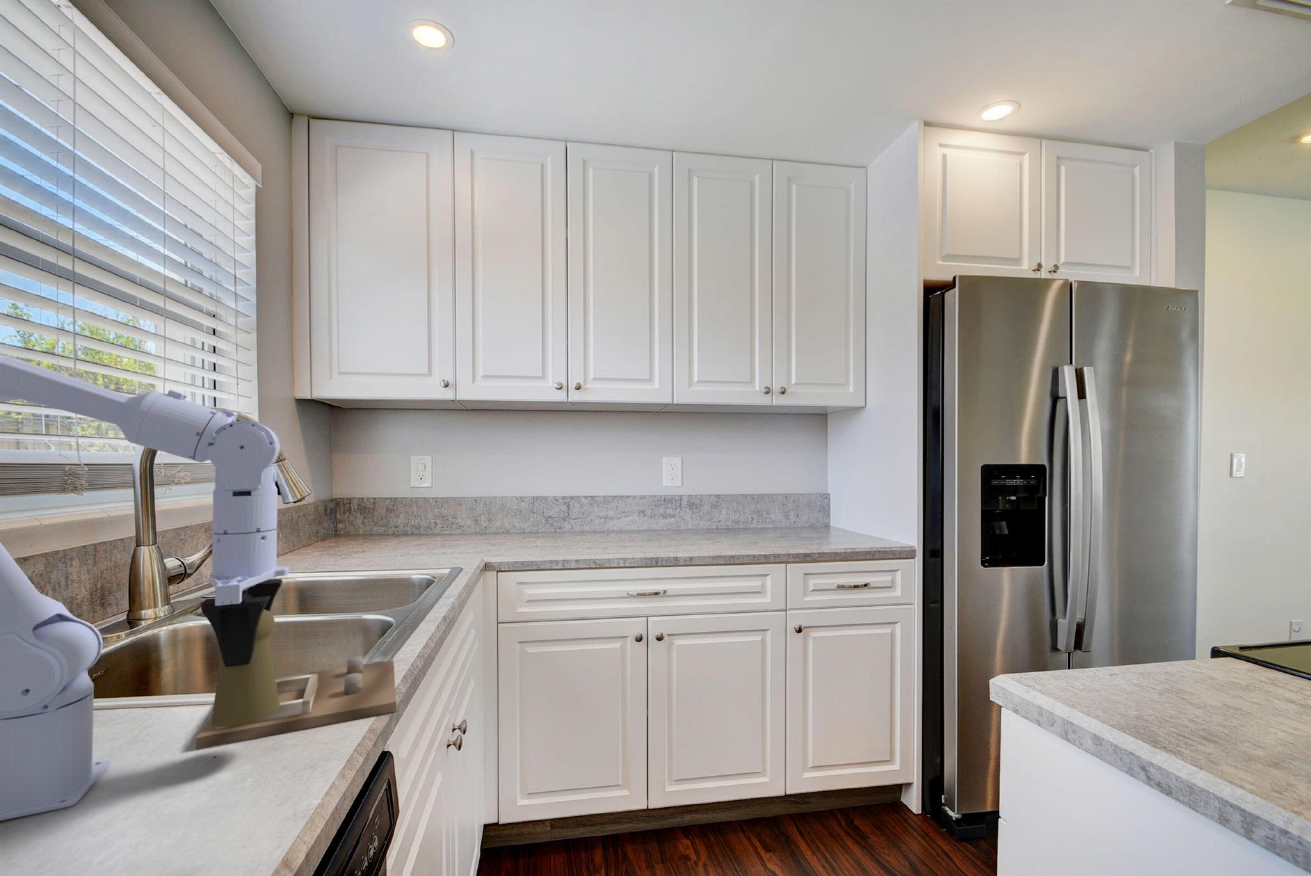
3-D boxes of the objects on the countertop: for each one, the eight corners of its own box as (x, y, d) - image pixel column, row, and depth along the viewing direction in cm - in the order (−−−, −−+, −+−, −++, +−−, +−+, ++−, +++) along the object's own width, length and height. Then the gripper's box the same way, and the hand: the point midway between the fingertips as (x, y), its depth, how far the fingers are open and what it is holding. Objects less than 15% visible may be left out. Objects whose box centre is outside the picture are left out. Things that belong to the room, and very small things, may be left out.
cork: (199, 731, 58) (199, 621, 58) (226, 707, 63) (225, 607, 64) (268, 721, 59) (267, 615, 60) (287, 698, 65) (286, 602, 66)
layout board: (196, 748, 62) (196, 719, 62) (230, 693, 77) (230, 669, 77) (396, 711, 71) (396, 685, 71) (393, 667, 85) (393, 646, 85)
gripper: (276, 537, 57) (275, 673, 57) (298, 521, 70) (297, 631, 70) (188, 542, 54) (187, 685, 54) (228, 524, 67) (227, 640, 67)
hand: (244, 656), depth 62 cm, fingers closed on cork, 5 cm apart
